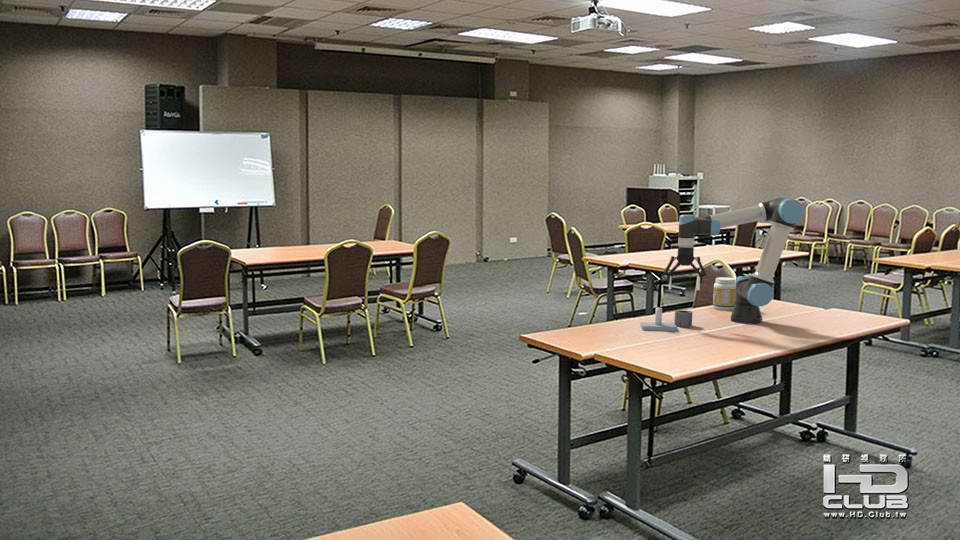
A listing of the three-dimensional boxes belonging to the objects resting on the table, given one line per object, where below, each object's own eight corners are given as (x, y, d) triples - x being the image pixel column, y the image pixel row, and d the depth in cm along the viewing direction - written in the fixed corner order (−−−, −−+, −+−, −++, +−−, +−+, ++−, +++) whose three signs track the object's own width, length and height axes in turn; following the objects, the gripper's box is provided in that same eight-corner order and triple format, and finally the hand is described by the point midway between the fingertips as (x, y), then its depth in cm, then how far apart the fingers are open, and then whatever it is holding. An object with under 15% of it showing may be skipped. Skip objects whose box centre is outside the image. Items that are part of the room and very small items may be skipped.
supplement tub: (710, 306, 447) (712, 276, 445) (733, 307, 446) (734, 277, 444) (715, 310, 435) (716, 279, 433) (737, 310, 434) (739, 280, 432)
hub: (690, 324, 395) (690, 310, 394) (692, 327, 387) (693, 313, 386) (673, 323, 396) (674, 310, 395) (675, 327, 388) (676, 312, 387)
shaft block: (673, 327, 388) (674, 306, 387) (676, 331, 378) (677, 310, 377) (640, 326, 390) (641, 306, 389) (642, 330, 380) (643, 309, 379)
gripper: (710, 246, 389) (708, 289, 392) (658, 245, 392) (657, 287, 394) (713, 247, 382) (711, 291, 384) (660, 246, 384) (659, 290, 387)
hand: (684, 289), depth 389 cm, fingers open, 13 cm apart
